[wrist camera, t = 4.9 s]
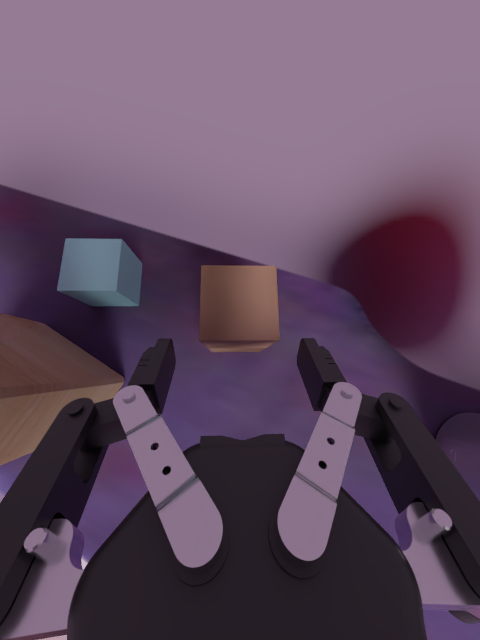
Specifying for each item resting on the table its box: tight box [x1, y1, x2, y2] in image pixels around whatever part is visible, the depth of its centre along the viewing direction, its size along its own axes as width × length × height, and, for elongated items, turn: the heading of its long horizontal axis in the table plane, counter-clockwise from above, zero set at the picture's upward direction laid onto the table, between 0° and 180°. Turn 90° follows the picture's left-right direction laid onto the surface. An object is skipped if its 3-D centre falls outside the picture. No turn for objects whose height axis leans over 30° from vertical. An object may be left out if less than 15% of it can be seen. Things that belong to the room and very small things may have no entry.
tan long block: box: [199, 265, 280, 352], centre depth 19 cm, size 5×5×10 cm
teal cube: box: [57, 238, 142, 306], centre depth 22 cm, size 5×5×5 cm
